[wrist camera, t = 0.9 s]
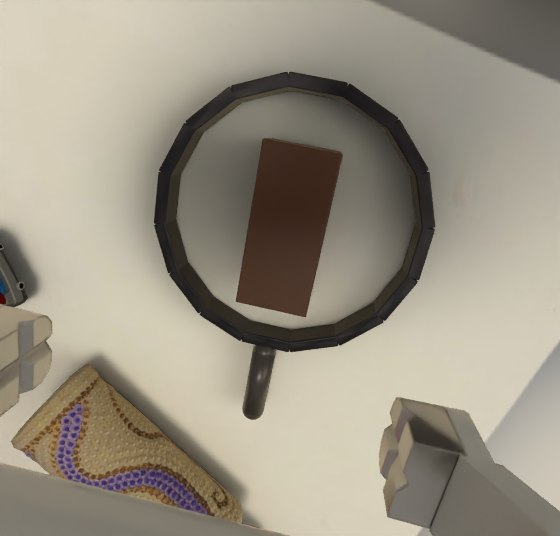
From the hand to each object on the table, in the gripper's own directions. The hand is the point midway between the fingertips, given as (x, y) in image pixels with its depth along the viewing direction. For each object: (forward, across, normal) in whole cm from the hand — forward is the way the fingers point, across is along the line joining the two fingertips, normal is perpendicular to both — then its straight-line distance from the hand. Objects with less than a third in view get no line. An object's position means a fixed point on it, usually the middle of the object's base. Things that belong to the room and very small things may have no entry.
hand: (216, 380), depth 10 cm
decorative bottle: (+20, +6, +24) cm, 32 cm away
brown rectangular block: (+20, 0, 0) cm, 20 cm away
